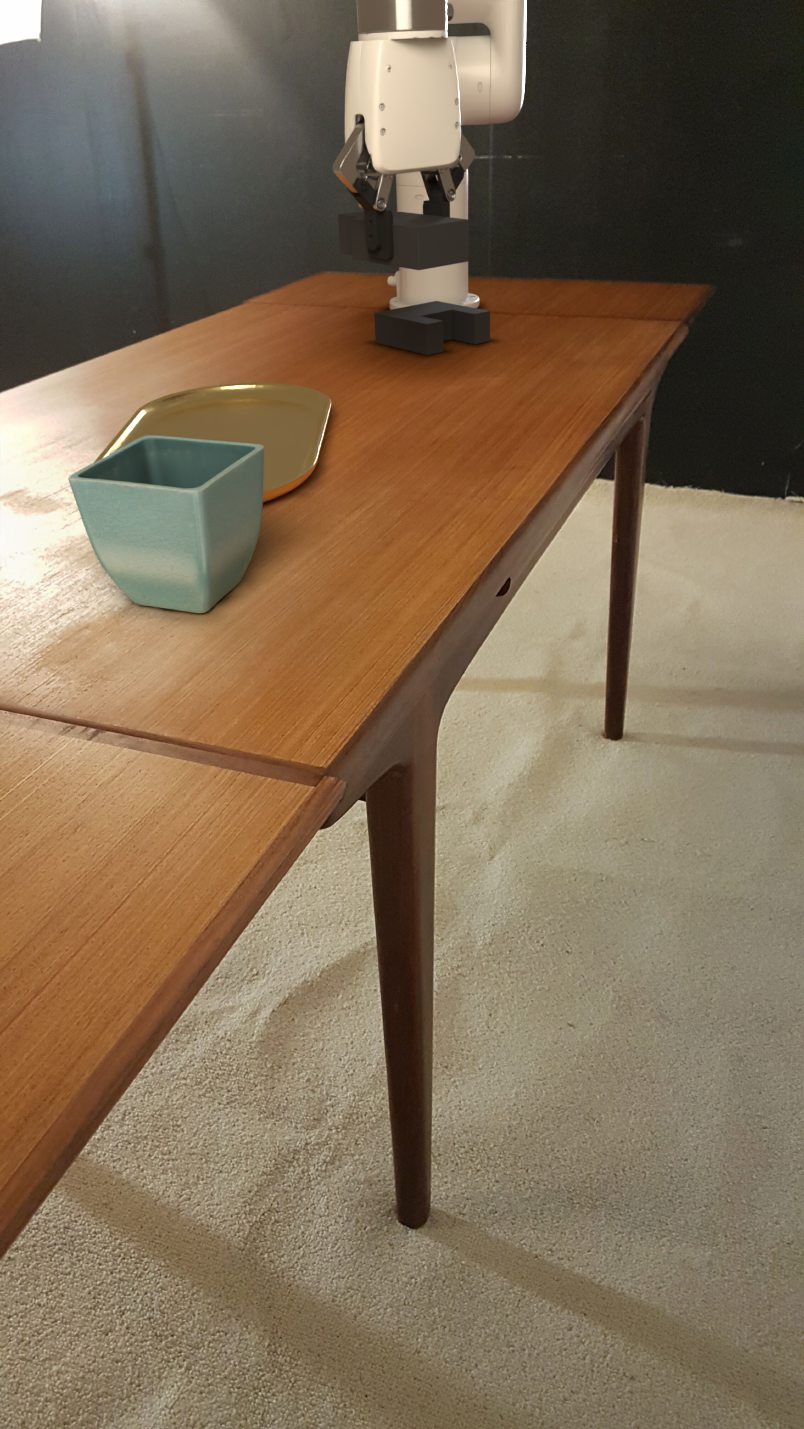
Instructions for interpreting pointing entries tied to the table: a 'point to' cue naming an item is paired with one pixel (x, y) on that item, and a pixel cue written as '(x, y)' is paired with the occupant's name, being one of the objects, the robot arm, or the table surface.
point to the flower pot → (174, 517)
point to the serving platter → (242, 425)
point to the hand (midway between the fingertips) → (409, 251)
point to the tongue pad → (410, 240)
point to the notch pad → (431, 326)
